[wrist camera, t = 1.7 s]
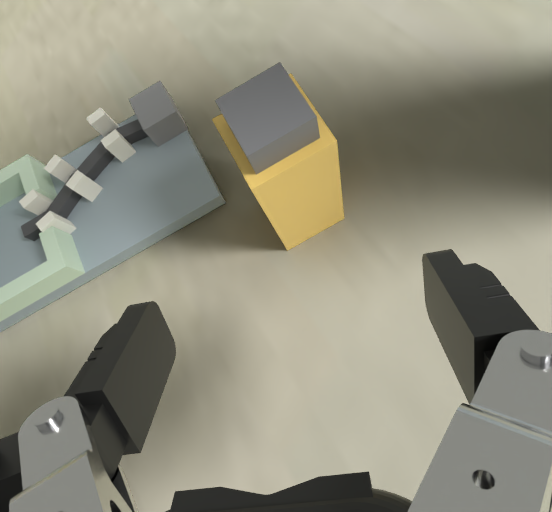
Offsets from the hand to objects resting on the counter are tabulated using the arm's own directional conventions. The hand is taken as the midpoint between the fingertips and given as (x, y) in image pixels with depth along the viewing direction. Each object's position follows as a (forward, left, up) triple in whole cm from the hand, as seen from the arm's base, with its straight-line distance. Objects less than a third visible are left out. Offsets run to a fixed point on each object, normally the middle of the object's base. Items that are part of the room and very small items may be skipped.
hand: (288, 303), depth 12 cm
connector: (-3, -7, -12) cm, 14 cm away
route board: (+11, -15, -12) cm, 22 cm away
